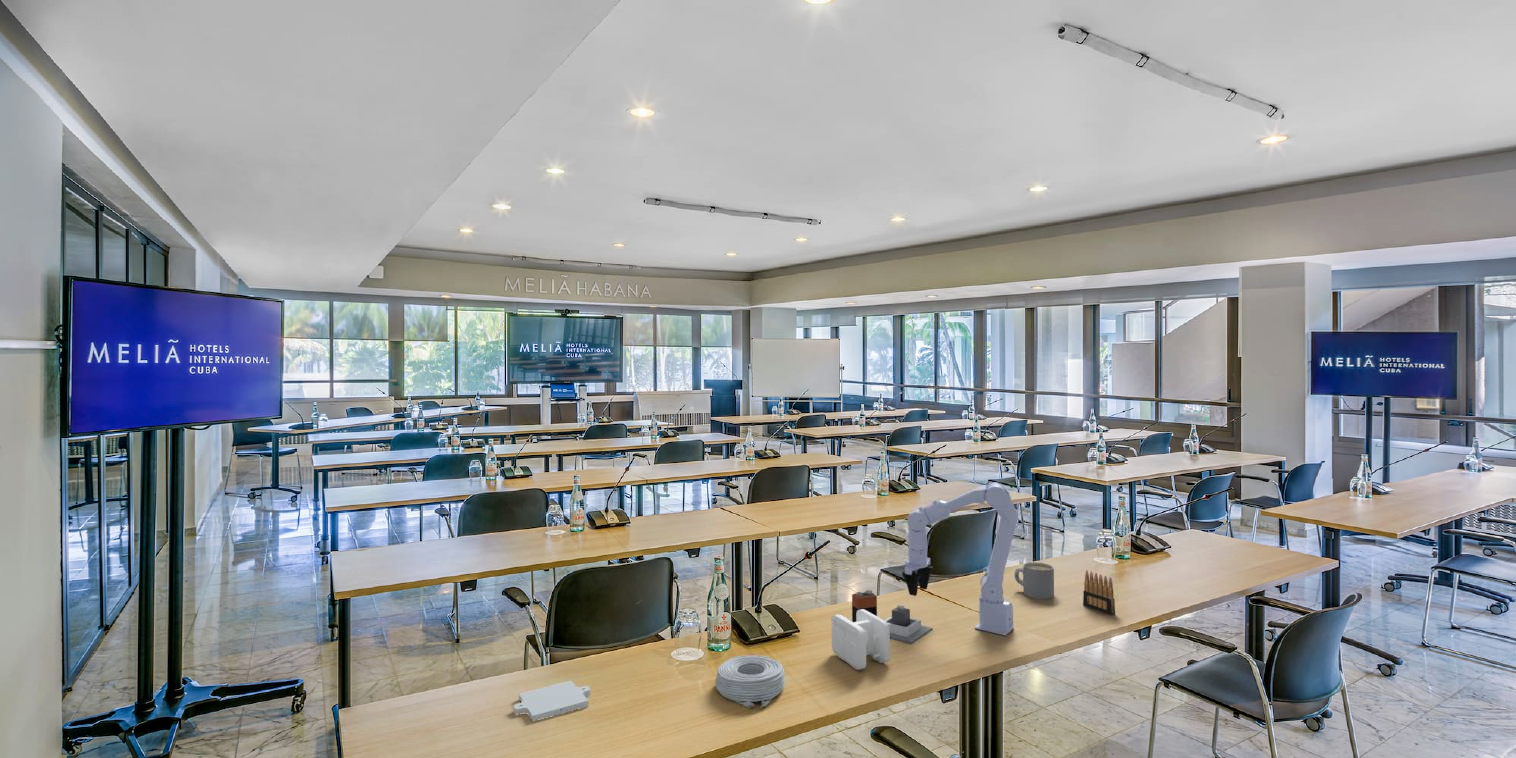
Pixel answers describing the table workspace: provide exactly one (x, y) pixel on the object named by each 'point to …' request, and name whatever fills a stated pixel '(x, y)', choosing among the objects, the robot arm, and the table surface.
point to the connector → (901, 616)
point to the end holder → (907, 630)
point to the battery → (864, 603)
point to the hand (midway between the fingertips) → (918, 591)
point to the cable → (750, 679)
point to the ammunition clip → (1098, 594)
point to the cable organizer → (861, 639)
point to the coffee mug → (1037, 580)
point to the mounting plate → (552, 700)
